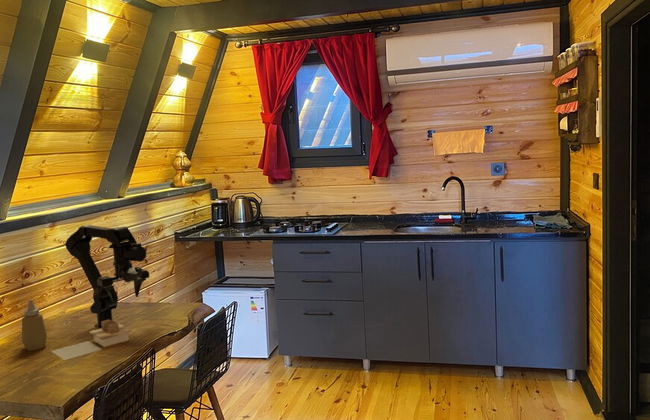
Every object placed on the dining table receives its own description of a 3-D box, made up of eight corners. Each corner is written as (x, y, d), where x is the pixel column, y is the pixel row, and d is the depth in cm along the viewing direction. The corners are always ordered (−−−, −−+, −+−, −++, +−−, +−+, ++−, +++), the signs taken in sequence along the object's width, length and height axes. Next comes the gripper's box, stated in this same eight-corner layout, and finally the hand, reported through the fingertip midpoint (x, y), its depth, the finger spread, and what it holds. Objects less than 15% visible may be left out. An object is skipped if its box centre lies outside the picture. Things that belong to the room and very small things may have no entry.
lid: (89, 333, 211) (88, 323, 210) (118, 325, 218) (118, 316, 218) (101, 340, 203) (100, 329, 202) (131, 331, 210) (130, 321, 210)
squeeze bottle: (23, 354, 202) (17, 304, 200) (23, 347, 209) (17, 299, 207) (48, 349, 206) (43, 300, 203) (47, 343, 213) (42, 295, 211)
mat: (51, 352, 203) (50, 350, 203) (88, 342, 212) (88, 340, 212) (64, 361, 193) (64, 360, 193) (102, 350, 202) (102, 349, 202)
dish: (94, 342, 211) (93, 333, 211) (118, 335, 217) (117, 326, 217) (104, 348, 205) (103, 338, 204) (128, 341, 211) (127, 332, 210)
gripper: (106, 267, 209) (110, 308, 211) (154, 258, 222) (157, 297, 224) (94, 263, 217) (98, 303, 219) (141, 254, 230) (144, 293, 232)
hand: (125, 299), depth 223 cm, fingers open, 9 cm apart
